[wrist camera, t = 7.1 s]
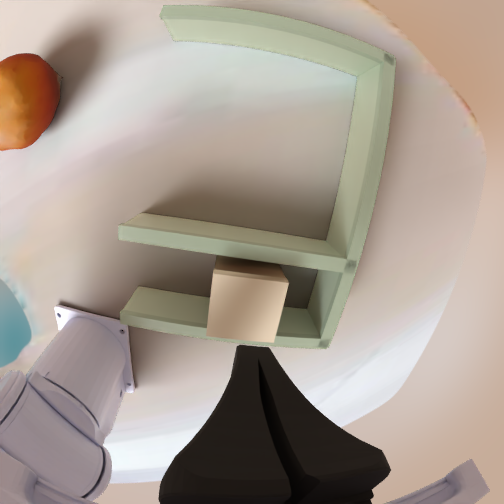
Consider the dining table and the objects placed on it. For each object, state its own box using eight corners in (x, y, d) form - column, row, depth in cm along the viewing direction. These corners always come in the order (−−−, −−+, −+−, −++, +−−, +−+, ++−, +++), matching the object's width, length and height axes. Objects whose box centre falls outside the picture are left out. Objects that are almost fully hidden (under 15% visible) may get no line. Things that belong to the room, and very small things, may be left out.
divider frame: (312, 317, 23) (328, 349, 18) (138, 293, 21) (120, 323, 17) (366, 72, 16) (396, 56, 12) (176, 33, 14) (163, 5, 10)
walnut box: (272, 248, 20) (288, 282, 15) (263, 296, 22) (273, 342, 16) (218, 240, 20) (212, 273, 14) (211, 290, 21) (206, 336, 15)
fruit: (89, 42, 13) (8, 73, 7) (78, 125, 18) (16, 176, 13) (30, 40, 11) (-39, 71, 6) (25, 111, 17) (-31, 154, 11)
